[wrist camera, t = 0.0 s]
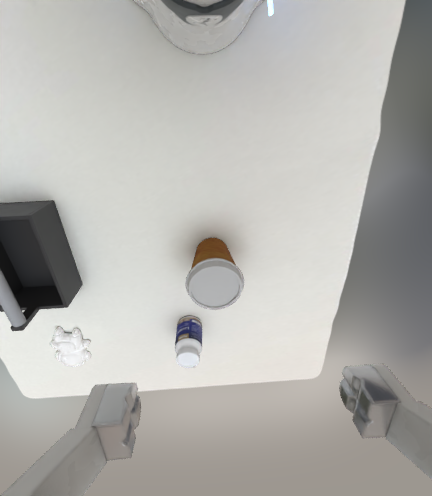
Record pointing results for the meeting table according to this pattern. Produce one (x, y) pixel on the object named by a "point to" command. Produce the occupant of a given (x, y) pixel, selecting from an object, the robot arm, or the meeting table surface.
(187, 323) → the pill bottle
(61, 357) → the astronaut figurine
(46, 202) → the black bin
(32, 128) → the meeting table surface
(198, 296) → the disposable coffee cup
